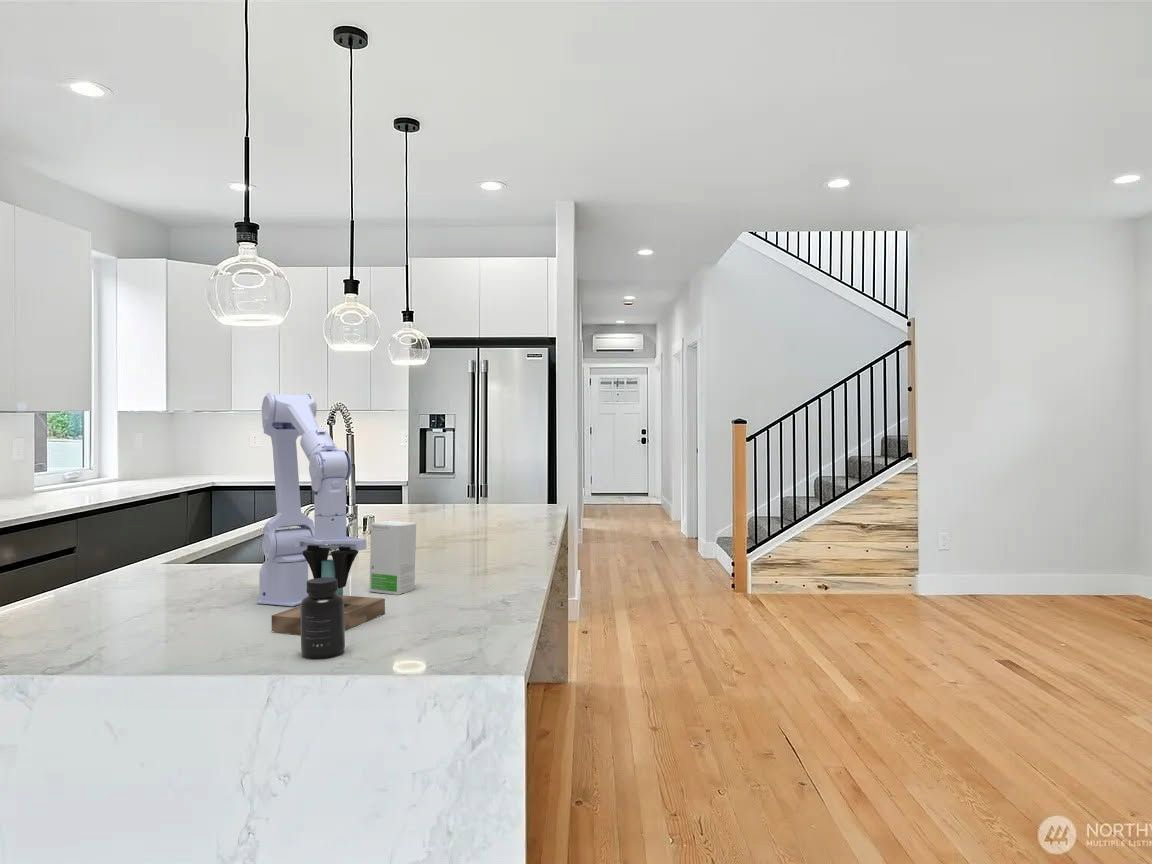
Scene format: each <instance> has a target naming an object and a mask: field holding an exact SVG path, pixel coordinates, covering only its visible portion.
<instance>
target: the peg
mask: <svg viewBox="0 0 1152 864" xmlns="http://www.w3.org/2000/svg"><path fill="white" fill-rule="evenodd" d="M324 577H330V578H335V566H334V562H333V558H331V559H327V560H322V563H321V578H324ZM336 593H337V594H339V595H340V596H342V598H343V595H344V587H342V588H338V591H336Z"/></svg>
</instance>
